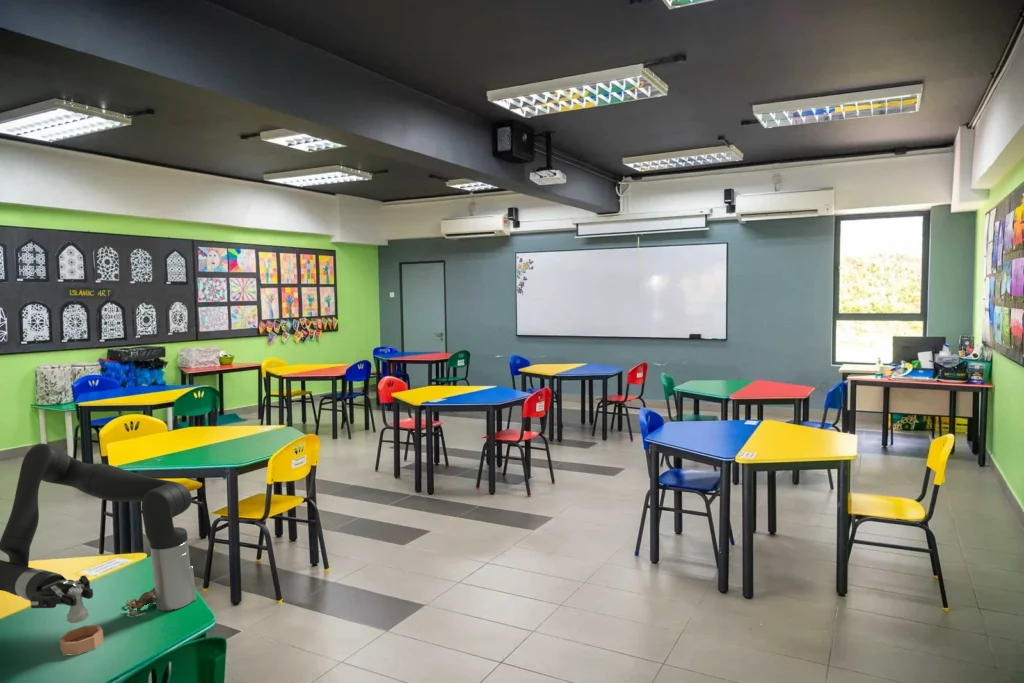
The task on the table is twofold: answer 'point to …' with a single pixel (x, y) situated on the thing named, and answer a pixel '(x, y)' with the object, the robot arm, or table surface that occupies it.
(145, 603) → the frog figurine
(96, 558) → the table surface
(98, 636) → the dish
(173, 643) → the table surface
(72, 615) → the rook chess piece
